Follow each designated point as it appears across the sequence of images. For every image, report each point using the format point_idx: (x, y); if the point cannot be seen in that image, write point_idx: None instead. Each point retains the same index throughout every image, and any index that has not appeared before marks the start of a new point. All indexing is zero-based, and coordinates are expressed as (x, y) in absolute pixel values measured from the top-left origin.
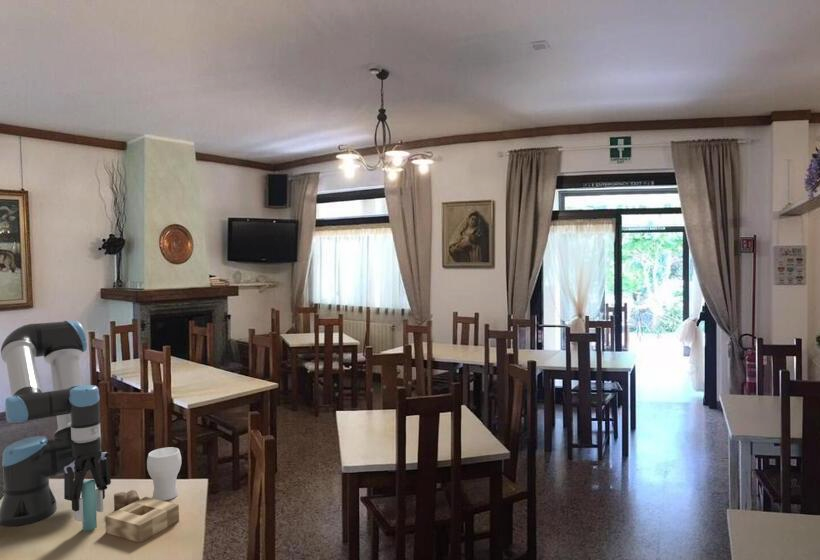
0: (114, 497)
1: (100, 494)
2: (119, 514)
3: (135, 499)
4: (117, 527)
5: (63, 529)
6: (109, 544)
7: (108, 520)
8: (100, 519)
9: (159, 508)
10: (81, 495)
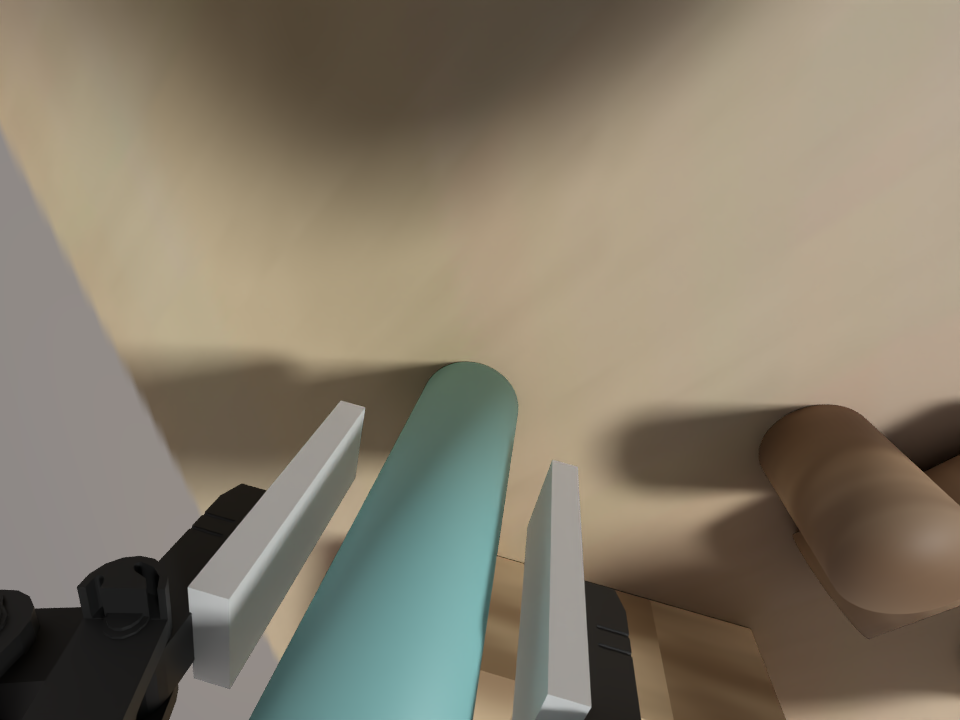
0: (843, 524)
1: (514, 715)
2: None
3: (857, 629)
4: None
5: (402, 203)
6: None
7: None
8: (619, 393)
9: None
10: (292, 643)
